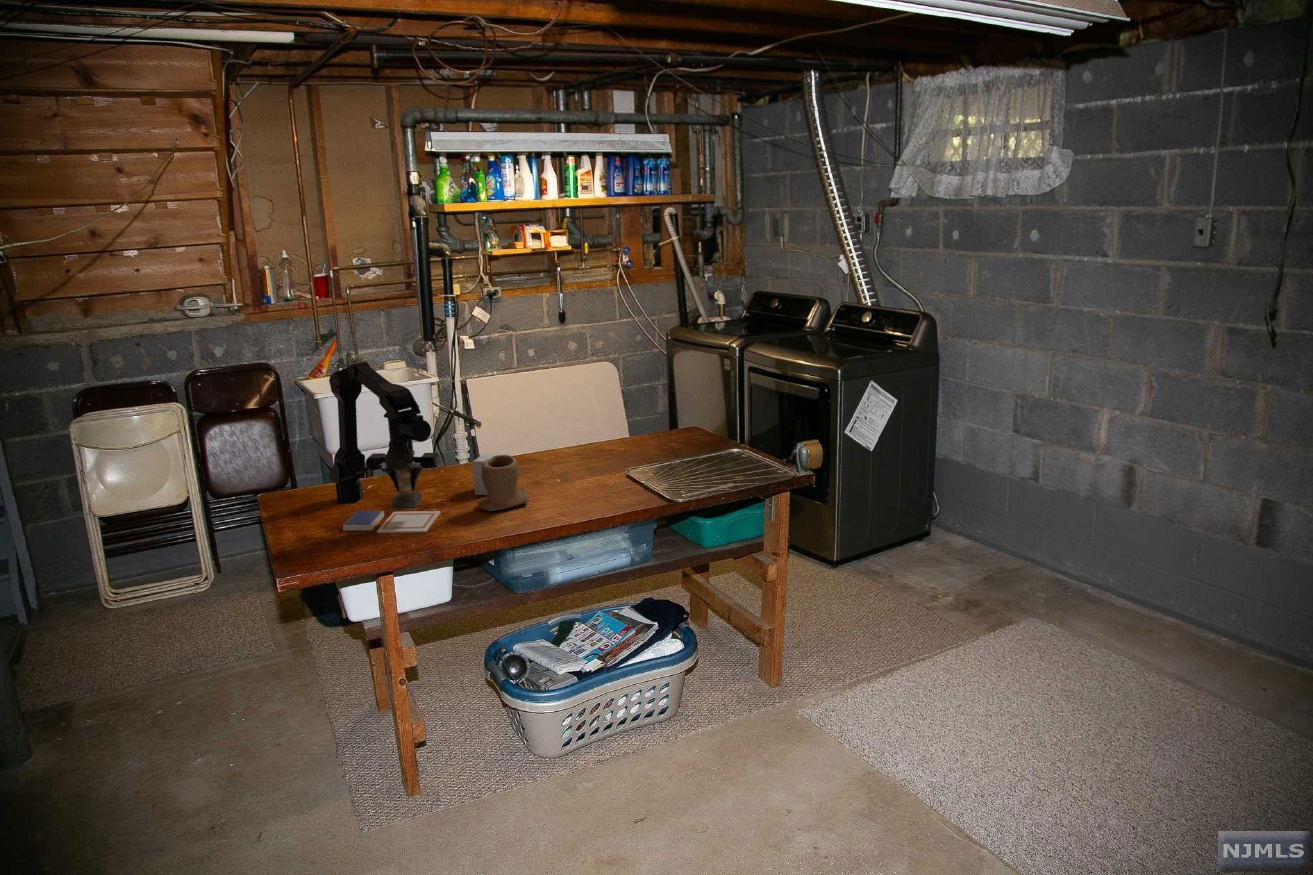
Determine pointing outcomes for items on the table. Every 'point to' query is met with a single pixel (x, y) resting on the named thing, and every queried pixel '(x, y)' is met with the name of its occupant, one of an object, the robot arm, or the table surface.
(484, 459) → the small box
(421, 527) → the board
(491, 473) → the stone cup
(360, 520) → the ink pad
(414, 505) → the stamp
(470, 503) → the table surface
